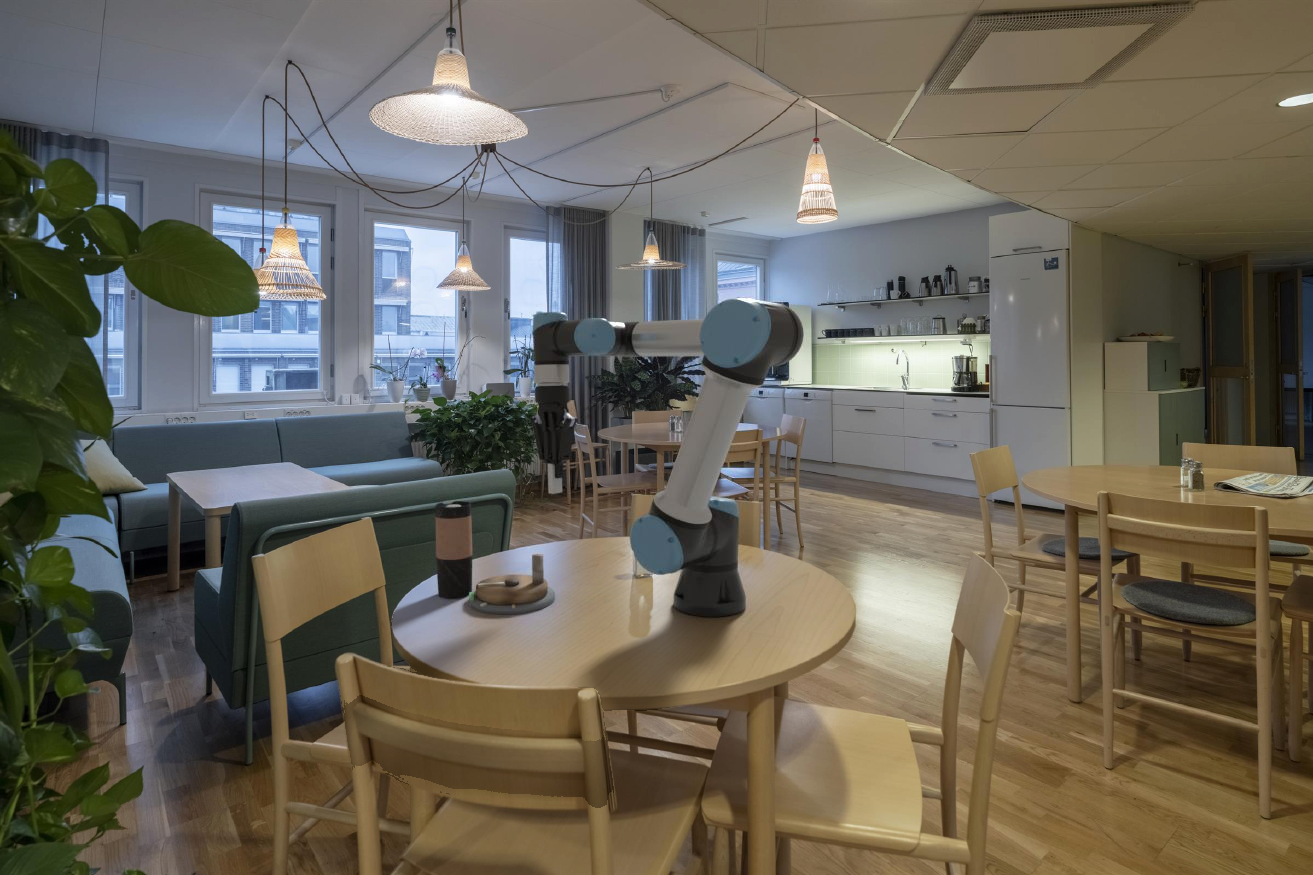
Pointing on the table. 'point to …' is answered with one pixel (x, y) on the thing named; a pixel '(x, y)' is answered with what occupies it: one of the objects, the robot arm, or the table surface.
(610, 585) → the table surface
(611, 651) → the table surface
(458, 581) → the travel mug
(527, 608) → the gauge plate
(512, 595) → the dial
